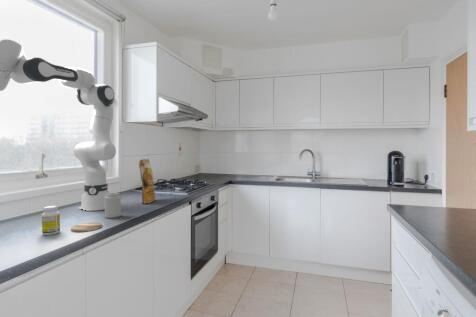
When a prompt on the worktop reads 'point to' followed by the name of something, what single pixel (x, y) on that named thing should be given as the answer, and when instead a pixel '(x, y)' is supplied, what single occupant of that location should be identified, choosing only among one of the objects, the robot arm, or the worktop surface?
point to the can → (112, 205)
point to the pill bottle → (50, 220)
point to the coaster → (86, 227)
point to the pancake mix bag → (146, 181)
